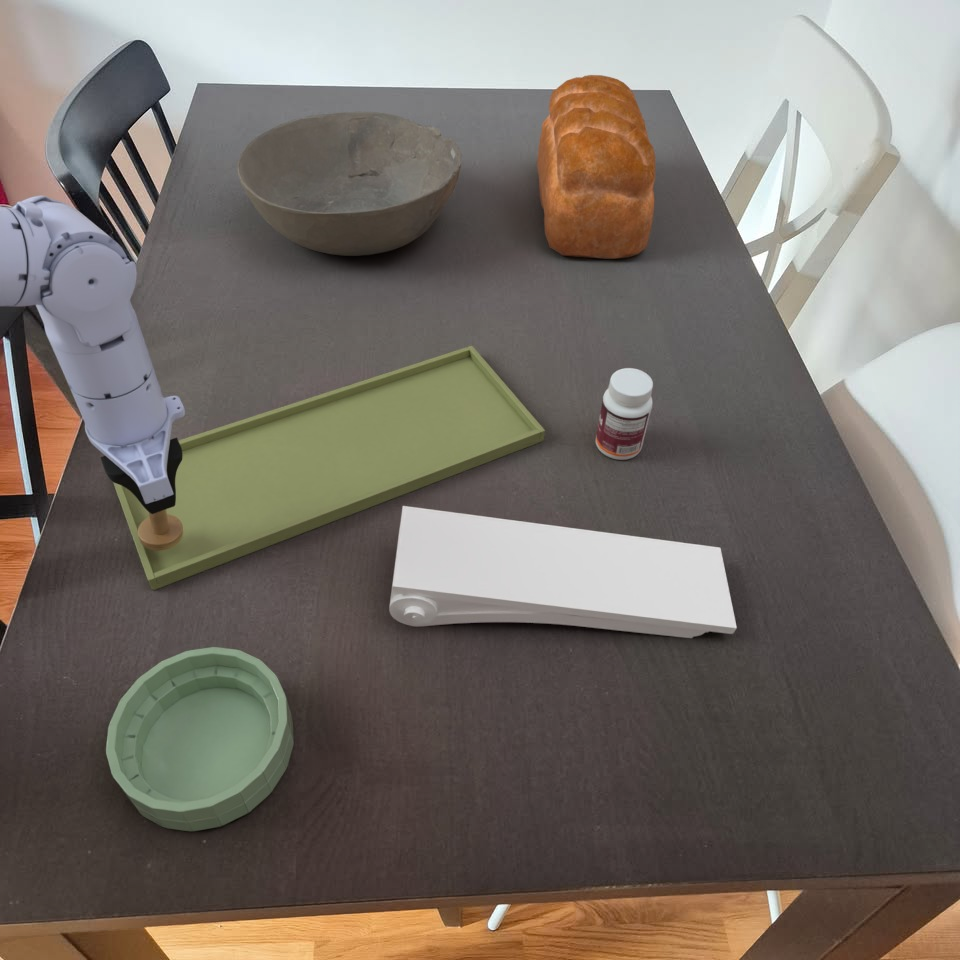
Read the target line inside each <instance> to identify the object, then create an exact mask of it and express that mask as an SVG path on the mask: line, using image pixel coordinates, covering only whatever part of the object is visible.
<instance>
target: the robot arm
mask: <svg viewBox="0 0 960 960" xmlns="http://www.w3.org/2000/svg"><path fill="white" fill-rule="evenodd" d="M137 277H138V273H137V265H136V262H135V261H133V260H132V261H130V259H129V258H128V256H127V254H126V252H125V250H124V249H123V247H122V246H121V245H120V244H119V243H118V242H117V241H116V240H115V239H114V238H112V237H111V236H110V235H109V234H107V232H105V231H104V230H102V229H101V228H100V227H99V226H97V225H96V224H95V223H94V222H93V221H92V220H90V219H89V218H88V217H87V216H85V215H84V214H83V213H82V212H80V211H79V210H78V209H77V208H75V207H73V206H71V205H69V204H67V203H66V202H63V201H62V200H61V201H60V200H57V199H51V198H50V197H48V196H46V195H42V194H41V195H35V196H31V197H28V198H25V199H23V200H21V201H19V200H18V201H17V202H16V204H14V205H13V206H11V207H8V206H0V307H30V306H35V308H36V309H37V312H38V313H39V316H40V318H41V321H42V323H43V326H44V332H45V335H46V337H47V340H48V342H49V344H50V346H51V349H52V351H53V353H54V355H55V358H56V360H57V362H58V364H59V367H60V369H61V371H62V373H63V376H64V378H65V380H66V383H67V386H68V388H69V390H70V392H71V395H72V397H73V399H74V401H75V404H76V406H77V408H78V410H79V412H80V413H79V414H80V415H81V417H82V419H83V423H84V430H85V435H86V436H87V438H88V440H89V442H90V443H91V444H92V446H94V447H95V448H96V449H97V450H98V451H99V452H100V453H101V454H103V456H101V457H100V461H101V464H102V467H103V469H104V472H105V474H106V476H107V477H108V478H109V480H110V481H111V482H112V483H113V482H114V483H116V484H119V485H121V486H123V487H125V488H127V489H128V490H129V491H131V492H132V493H133V494H134V496H135V497H136V498H137V499H138V500H139V502H140V503H141V504H142V505H143V507H144V508H145V509H146V510H147V511H148V512H149V513H151V514H154V513H157V512H160V511H163V510H165V509H168V508H171V507H174V506H175V503H176V487H175V478H176V472H177V469H178V467H179V464H180V463H181V461H182V456H183V453H182V448H181V446H180V443H179V439H178V437H174V438H171V435H172V427H173V423H174V422H175V421H176V420H179V419H182V418H183V417H185V415H186V410H185V407H184V404H183V402H182V399H181V398H180V396H179V395H169V396H166V397H164V395H163V392H162V389H161V386H160V383H159V379H158V377H157V374H156V371H155V368H154V365H153V361H152V358H151V356H150V353H149V350H148V347H147V343H146V341H145V338H144V334H143V332H142V329H141V325H140V323H139V320H138V317H137V313H136V310H135V308H134V307H133V304H132V301H131V299H132V296H133V294H134V291H135V289H136V285H137ZM114 483H113V484H114Z"/></svg>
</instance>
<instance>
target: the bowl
mask: <svg viewBox="0 0 960 960" xmlns="http://www.w3.org/2000/svg"><path fill="white" fill-rule="evenodd" d="M236 166H237V167H236V168H237V169H236V172H237V174H238V179H239V182H240V185H241V187H242V189H243V191H244V193H245V194H246V196H247V198H248V199H249V201H250V202H251V203H252V205H253V206H254V208H255V209H256V211H257V213H259V215H260V216H261V217H262V219H263V220H265V222H266V223H267V224H268V225H269V226H271V227H272V228H273V229H274V230H275V231H276V232H277V233H279V234H280V235H281V236H283V237H284V238H285V239H287V240H289V241H290V242H292V243H294V244H296V245H298V246H300V247H303V248H306V249H308V250H311V251H315V252H318V253H322V254H323V253H324V254H329V255H334V256H335V255H336V256H347V257H348V256H349V257H351V256H352V257H355V256H356V257H357V256H371V255H377V254H382V253H386V252H391V251H394V250H397V249H399V248H402V247H404V246H406V245H408V244H410V243H411V242H413V241H415V240H416V239H418V238H419V237H421V236H422V235H423V234H424V233H425V232H427V231H428V230H429V229H430V228H431V226H432V225H433V224H434V223H435V221H436V220H437V219H438V217H439V216H440V214H441V213H442V210H443V208H444V207H445V205H446V204H447V203H448V201H449V199H450V197H451V196H452V194H453V191H454V189H455V187H456V184H457V182H458V180H459V177H460V173H461V168H462V152H461V150H460V147H458V145H457V143H456V141H454V139H452V138H449V137H448V138H445V137H444V136H443V135H442V133H441V131H440V129H439V128H437V127H434V126H432V125H423V124H421V123H417V122H415V121H413V120H410V119H407V118H405V117H403V116H399V115H395V114H389V113H385V112H376V111H342V112H334V113H325V114H322V113H321V114H311V115H307V116H304V117H300V118H296V119H293V120H290V121H287V122H283V123H280V124H278V125H276V126H274V127H272V128H270V129H269V130H267V131H265V132H263V133H261V134H259V135H257V137H255V138H253V139H252V140H251V141H250V142H248V144H246V145H245V146H244V148H243V149H242V151H241V152H240V155H239V157H238V160H237V165H236Z"/></svg>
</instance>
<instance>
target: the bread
mask: <svg viewBox="0 0 960 960" xmlns="http://www.w3.org/2000/svg"><path fill="white" fill-rule="evenodd" d="M548 103H549V104H548V112H549V115H547V117H546V118H545V120H544V121H542V125H541V130H540V136H539V140H538V141H539V142H538V149H537V160H536V168H537V175H538V188H539V190H538V191H539V198H540V204H541V208H542V210H543V213H544V217H543V224H544V225H543V228H544V235H545V238H546V241H547V244H548V247H549V248H550V249H552V250H554V251H555V252H556V253H558V254H559V255H561V256H564V257H566V256H567V257H574V258H575V257H576V258H588V259H590V258H591V259H604V260H607V259H608V260H609V259H610V260H611V259H612V260H613V259H624V258H630V257H633V256H637V255H639V254H640V253H641V252H642V251H644V250H645V249H646V248H647V247H648V243H649V239H650V235H651V231H652V227H653V223H654V222H653V221H654V210H655V191H654V184H655V182H656V153H655V150H654V147H653V145H652V144H651V142H650V139H649V136H648V135H649V134H648V132H647V131H648V130H647V128H646V123H645V119H644V117H643V115H642V112H641V109H640V106H639V104H638V101H637V100H636V98H635V94H634V92H633V90H632V88H630V87H629V86H628V85H627V84H626V83H625V82H624V81H621V80H620V79H618V78H615V77H611V76H607V75H600V74H587V75H583V76H581V77H580V76H579V77H572V78H570V79H567V80H565V81H564V82H563V83H561V84H560V85H559V86H558V87H556V88H555V89H554V90H552V92H551V95H550V98H549V102H548Z"/></svg>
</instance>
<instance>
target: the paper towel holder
mask: <svg viewBox="0 0 960 960" xmlns="http://www.w3.org/2000/svg"><path fill="white" fill-rule="evenodd" d="M138 536H139V540H140V542H141V544H142V545H143V546H144V547H146V548H148V549H151V550H157V551H160V550H167V549H170V548H172V547H174V546H176V545H177V544H178V543H179V542H180V541H181V539H182V537H183V526H182V523H181V521H180V520H179V519H178V518H177V517H175V516H173V515H169V514H167V511H166V509H165V510H163V511H160V512H157V513H154V514H151V513H149V517H148V518H146V519H145V520H144V521H143V522H142V523H141V524H140V526H139V528H138Z"/></svg>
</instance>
